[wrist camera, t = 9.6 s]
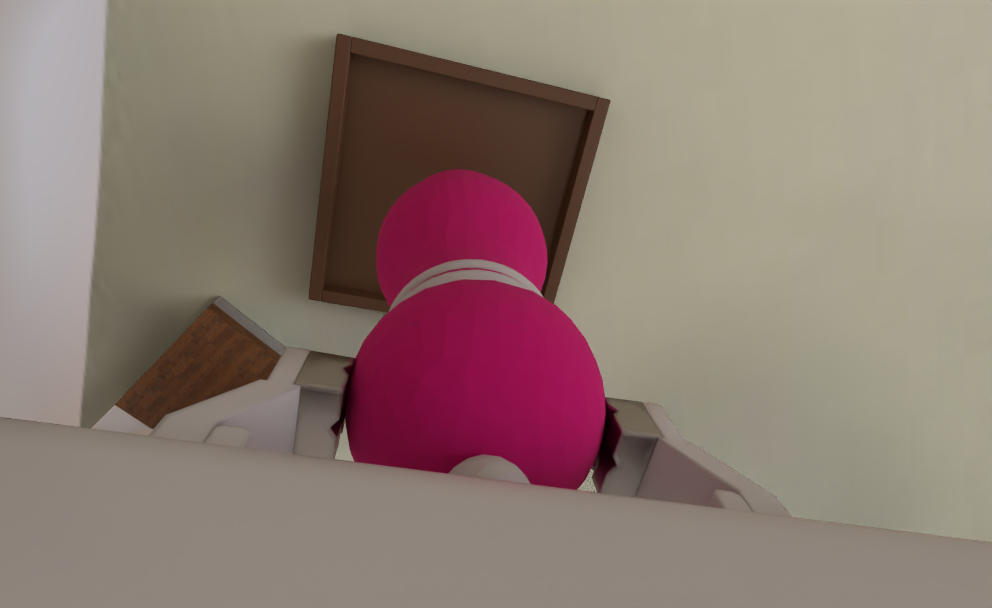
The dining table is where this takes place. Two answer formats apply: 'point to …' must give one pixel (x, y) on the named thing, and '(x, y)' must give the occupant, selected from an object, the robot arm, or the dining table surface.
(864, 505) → the dining table surface
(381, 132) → the serving tray
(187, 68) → the dining table surface
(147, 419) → the two-tier shelf stand
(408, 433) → the pepper mill
